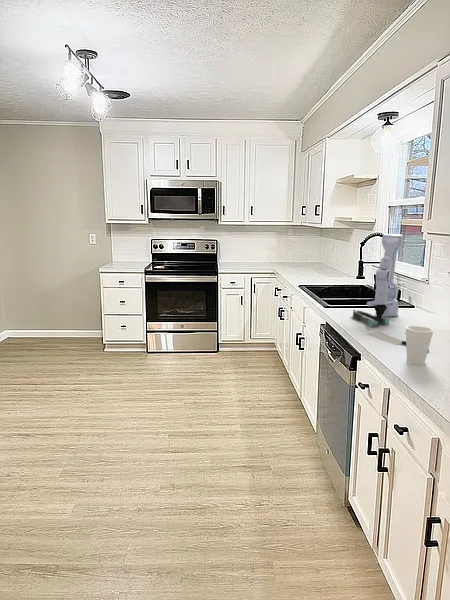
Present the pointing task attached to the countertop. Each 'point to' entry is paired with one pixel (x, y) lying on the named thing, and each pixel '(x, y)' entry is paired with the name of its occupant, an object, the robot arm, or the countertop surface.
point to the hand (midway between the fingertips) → (379, 319)
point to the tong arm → (379, 320)
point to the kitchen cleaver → (387, 338)
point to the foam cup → (417, 343)
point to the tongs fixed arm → (365, 319)
